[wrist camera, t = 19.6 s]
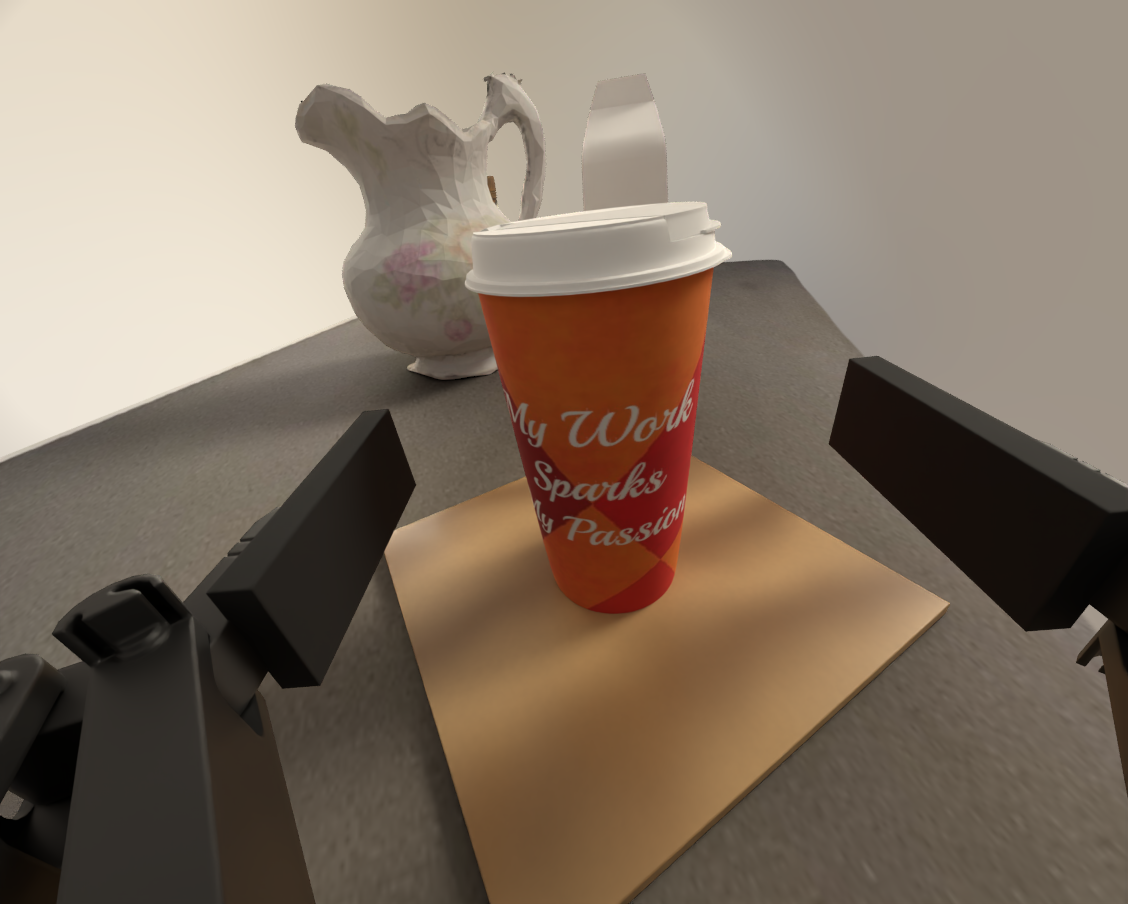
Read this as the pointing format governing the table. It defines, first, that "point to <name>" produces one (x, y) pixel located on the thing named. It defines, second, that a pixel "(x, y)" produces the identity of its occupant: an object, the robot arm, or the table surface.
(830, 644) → the wooden board
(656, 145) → the milk
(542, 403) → the paper cup
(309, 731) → the table surface
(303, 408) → the table surface
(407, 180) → the ceramic pitcher
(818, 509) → the table surface
